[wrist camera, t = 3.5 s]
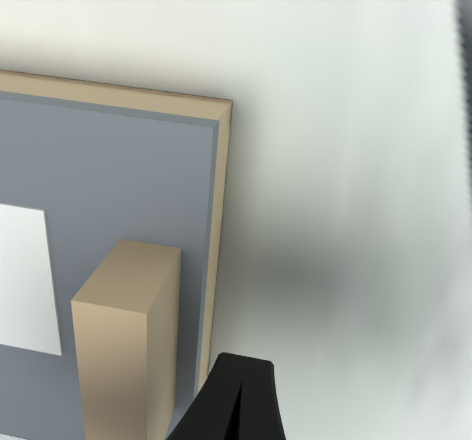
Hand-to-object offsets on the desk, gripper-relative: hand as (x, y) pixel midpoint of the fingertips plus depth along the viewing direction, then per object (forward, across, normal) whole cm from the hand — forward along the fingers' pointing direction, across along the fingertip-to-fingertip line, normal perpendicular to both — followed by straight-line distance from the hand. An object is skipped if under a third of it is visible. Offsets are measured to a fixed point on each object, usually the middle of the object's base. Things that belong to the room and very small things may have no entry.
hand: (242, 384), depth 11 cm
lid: (+2, +7, 0) cm, 7 cm away
